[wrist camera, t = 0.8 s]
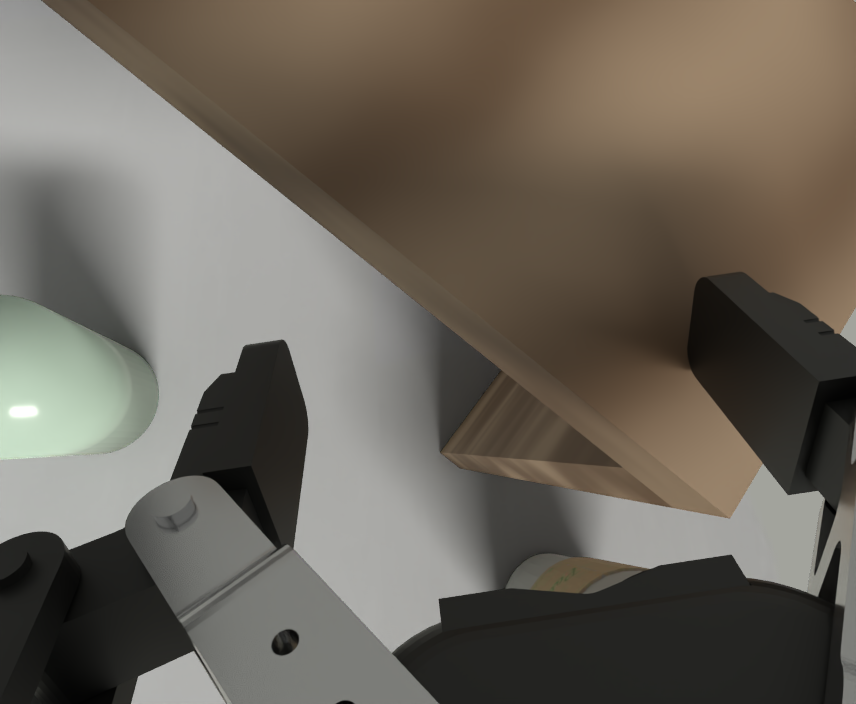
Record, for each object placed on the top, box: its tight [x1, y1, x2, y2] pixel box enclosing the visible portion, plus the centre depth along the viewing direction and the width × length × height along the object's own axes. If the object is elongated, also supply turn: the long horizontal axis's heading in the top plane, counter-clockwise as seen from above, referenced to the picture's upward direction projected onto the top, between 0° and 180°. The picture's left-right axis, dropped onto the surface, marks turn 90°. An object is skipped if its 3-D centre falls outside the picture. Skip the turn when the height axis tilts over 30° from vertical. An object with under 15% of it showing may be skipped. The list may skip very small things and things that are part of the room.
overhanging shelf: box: [41, 0, 856, 518], centre depth 25 cm, size 20×12×24 cm, turn 52°
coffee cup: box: [505, 553, 650, 594], centre depth 28 cm, size 9×9×15 cm
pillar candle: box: [0, 295, 159, 460], centre depth 27 cm, size 6×6×11 cm
